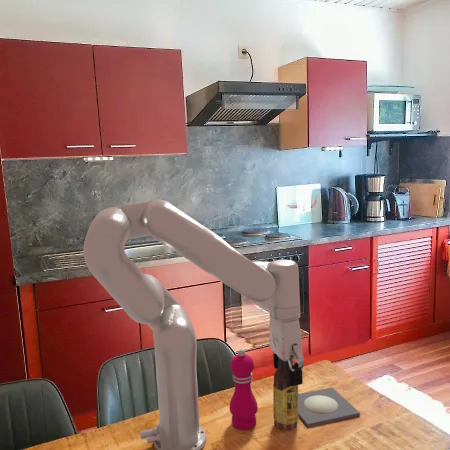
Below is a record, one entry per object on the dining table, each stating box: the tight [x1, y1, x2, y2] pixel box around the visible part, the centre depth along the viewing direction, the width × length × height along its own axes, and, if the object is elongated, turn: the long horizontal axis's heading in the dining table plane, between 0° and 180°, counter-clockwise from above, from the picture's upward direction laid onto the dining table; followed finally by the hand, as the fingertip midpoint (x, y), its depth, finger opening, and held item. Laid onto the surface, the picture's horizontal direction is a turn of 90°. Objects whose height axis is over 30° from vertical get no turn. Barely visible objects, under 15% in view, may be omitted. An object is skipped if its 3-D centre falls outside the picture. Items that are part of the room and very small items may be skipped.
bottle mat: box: [298, 387, 361, 428], centre depth 121 cm, size 15×14×1 cm
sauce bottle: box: [272, 355, 299, 431], centre depth 113 cm, size 7×6×20 cm
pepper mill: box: [229, 348, 259, 431], centre depth 114 cm, size 7×7×20 cm
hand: (287, 375), depth 113 cm, fingers open, 9 cm apart
